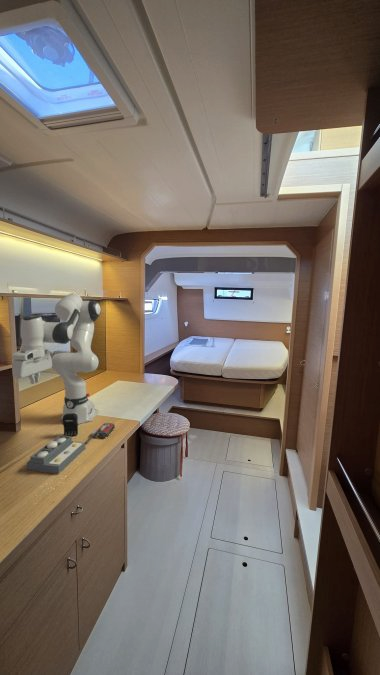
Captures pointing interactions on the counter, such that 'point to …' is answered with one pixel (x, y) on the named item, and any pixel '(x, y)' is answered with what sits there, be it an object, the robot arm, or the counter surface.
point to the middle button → (52, 445)
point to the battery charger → (70, 424)
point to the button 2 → (61, 440)
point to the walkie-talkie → (102, 431)
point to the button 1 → (42, 454)
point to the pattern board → (56, 456)
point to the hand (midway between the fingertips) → (34, 382)
